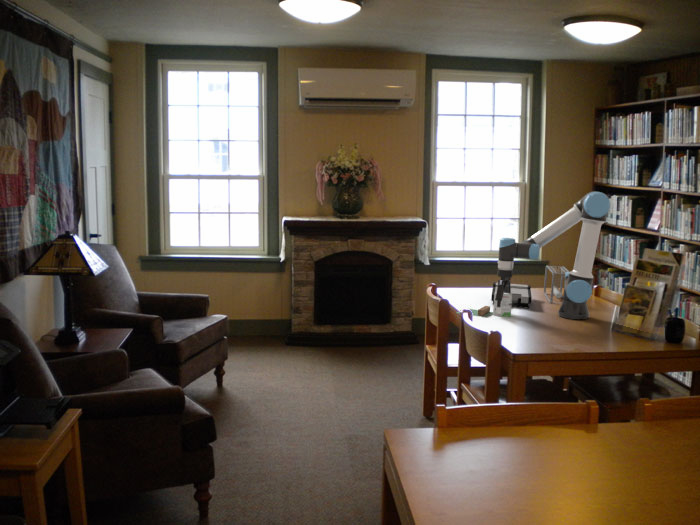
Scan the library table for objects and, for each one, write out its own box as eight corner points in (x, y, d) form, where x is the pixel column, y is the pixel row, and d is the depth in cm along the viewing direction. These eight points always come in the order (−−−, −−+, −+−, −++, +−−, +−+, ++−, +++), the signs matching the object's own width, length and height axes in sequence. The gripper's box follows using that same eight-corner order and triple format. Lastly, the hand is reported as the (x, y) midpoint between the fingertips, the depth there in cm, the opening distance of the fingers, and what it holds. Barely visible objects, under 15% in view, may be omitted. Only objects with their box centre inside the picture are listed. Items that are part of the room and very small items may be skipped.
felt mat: (494, 313, 365) (494, 312, 365) (486, 318, 352) (486, 317, 352) (464, 309, 372) (464, 308, 372) (455, 313, 360) (455, 312, 360)
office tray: (490, 306, 382) (491, 291, 381) (492, 296, 413) (493, 282, 411) (530, 310, 377) (531, 295, 376) (529, 299, 408) (530, 285, 407)
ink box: (511, 316, 360) (512, 293, 358) (509, 317, 355) (511, 294, 353) (494, 314, 363) (495, 291, 361) (492, 316, 358) (494, 293, 356)
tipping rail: (489, 312, 365) (490, 306, 364) (482, 316, 354) (483, 310, 354) (485, 311, 366) (485, 305, 365) (477, 315, 355) (478, 309, 355)
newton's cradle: (569, 305, 394) (572, 273, 392) (550, 303, 396) (552, 272, 393) (561, 295, 424) (563, 265, 421) (543, 294, 425) (545, 264, 423)
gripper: (504, 265, 368) (501, 306, 371) (490, 270, 347) (487, 314, 350) (519, 266, 364) (515, 308, 367) (506, 272, 343) (502, 316, 346)
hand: (502, 311), depth 358 cm, fingers open, 12 cm apart
